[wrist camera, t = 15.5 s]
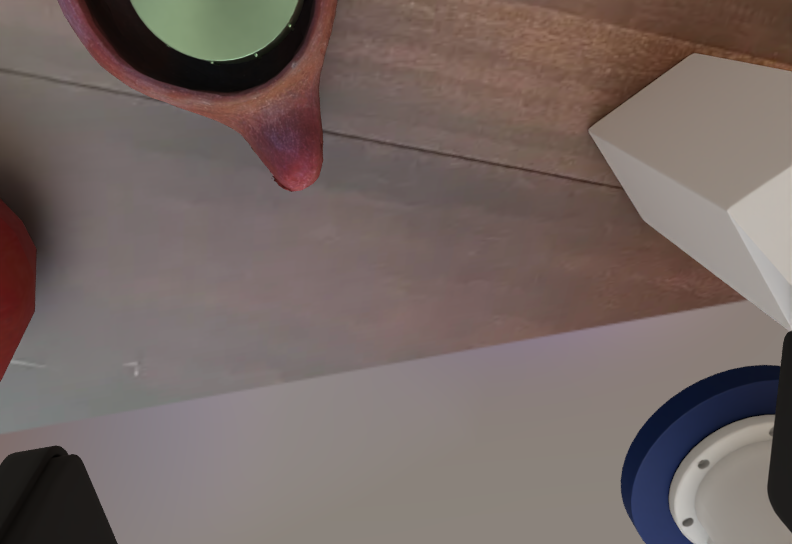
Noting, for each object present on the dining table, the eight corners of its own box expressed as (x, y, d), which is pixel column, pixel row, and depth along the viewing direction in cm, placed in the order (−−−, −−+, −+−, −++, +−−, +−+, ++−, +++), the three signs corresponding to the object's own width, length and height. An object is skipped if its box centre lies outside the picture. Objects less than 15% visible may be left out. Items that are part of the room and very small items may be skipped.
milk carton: (585, 129, 38) (794, 249, 21) (692, 51, 37) (1010, 110, 20) (641, 220, 41) (869, 394, 24) (743, 150, 40) (1063, 279, 22)
